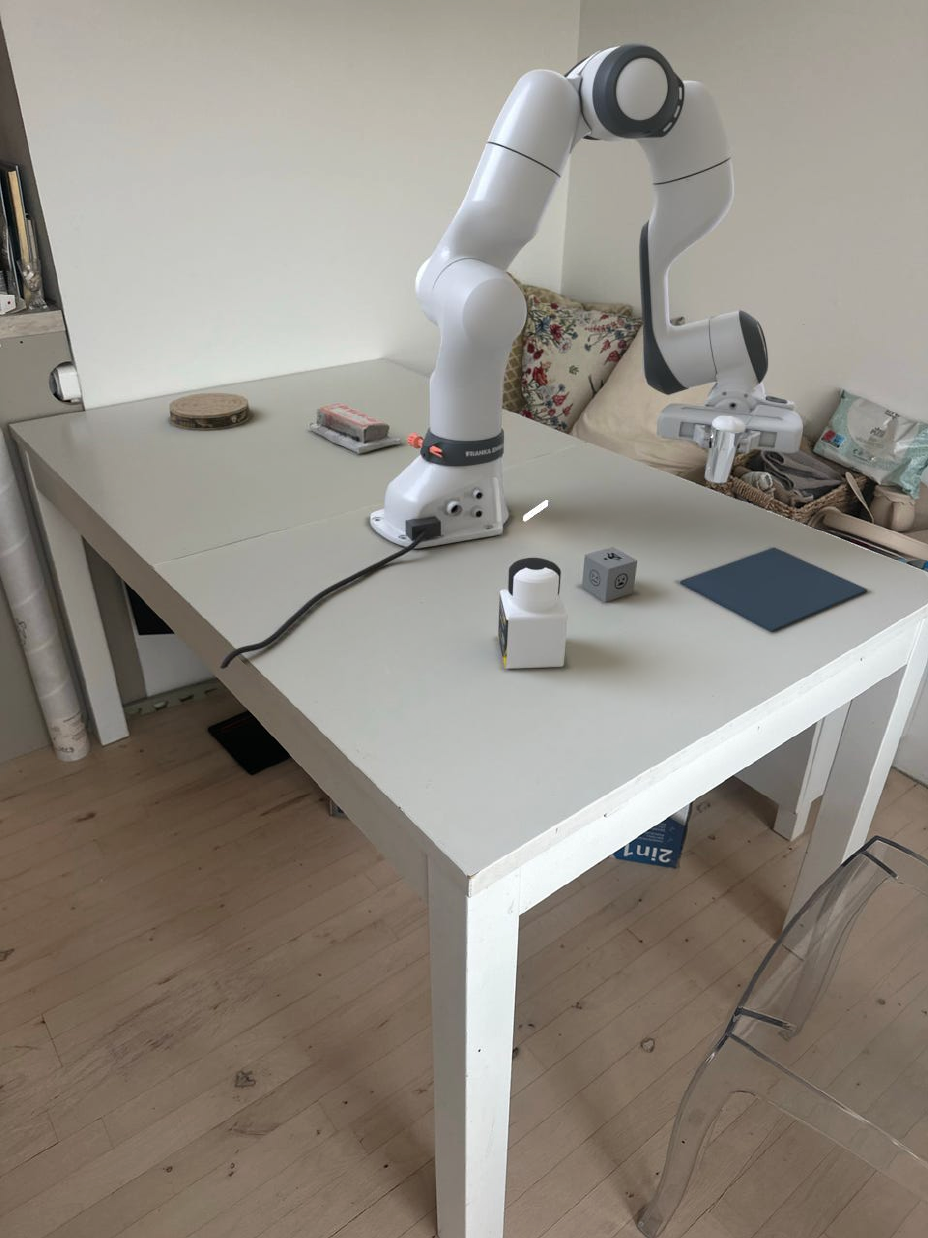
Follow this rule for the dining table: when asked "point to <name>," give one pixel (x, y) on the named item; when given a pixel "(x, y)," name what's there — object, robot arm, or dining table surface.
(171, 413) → the round wood slice
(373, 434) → the packaged product
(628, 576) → the dice cube
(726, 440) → the milkshake
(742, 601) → the mat
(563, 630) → the medicine bottle
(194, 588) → the dining table surface
